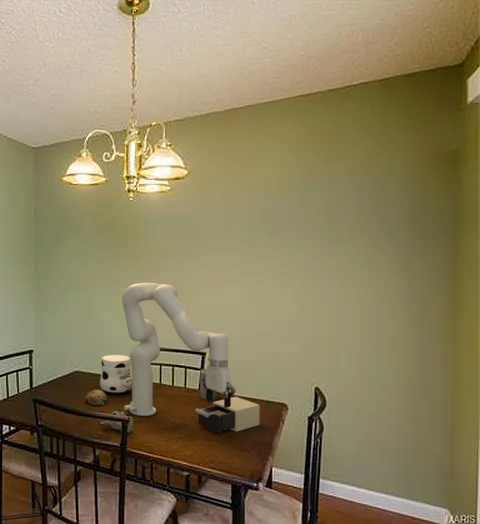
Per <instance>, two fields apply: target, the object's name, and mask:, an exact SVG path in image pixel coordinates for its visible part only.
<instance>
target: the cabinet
mask: <svg viewBox="0 0 480 524" xmlns="http://www.w3.org/2000/svg"><path fill="white" fill-rule="evenodd" d="M215 405H217V406H220V407H222V408H225V407H224V399H219V400H216V401H212V406H215ZM225 409H228V410H230V411H233V412H235V427H234V428H231V429H230V430H231V431H234V432H236V433H237V432H239V431H243V430H247V429H250V428H254V427H257V426H260V422H261V421H260V417H261V416H260V414H261V413H260V404H259V403H255V402H251V401H249V400H247V399H243V398H241V397H238V396H232V397H231V406H230V407H227V408H225Z"/></svg>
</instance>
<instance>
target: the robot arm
mask: <svg viewBox="0 0 480 524" xmlns="http://www.w3.org/2000/svg"><path fill="white" fill-rule="evenodd" d="M178 295H179V293H178V290H177V288H176V287H175V286H173V285H171V284H163V283H154V282H140V283H134V284H131V285H130V286H129V285H128V287H127V288H126V289H125V290H124V291H123V294H122V297H121V303H122V308H123V311H124V316H125V317H124V318H125V322H126V323H125V324H126V327H127V333H128V336H129V338H130V340H132V341H133V342H139V343H138V344H137V345H135V346H133V347H132V348H131V350H130V353H129V358H130V366H131V379H132V387H131V401H130V403H129V404H127V405H126V404H125V405H124V406H123V410H124V411H127V410H128V412H129V413H130V414H132V415H134V416H139V417H140V416H141V417H149V416H153V415H155V414H156V413H157V408H155V407H154V398H153V397H154V395H153V394H154V390H153V389H154V388H153V387H154V384H153V383H154V381H153V378H154V377H153V369H152V364H151V363H152V362H154V361H155V360H158V358H159V357H160V353H161V348H160V343H159V338H158V334H157V330H156V327H155V324H154V323H153V321H151V320H150V319H148V318H145V316H144V312H143V309H142V307H141V305H140V303H141V302H146V301H153V302H155V303H156V304H157V305H158V307H160V308H161V310H162V311H163V312H164V313H165V315H166V316H167V318H169V320H170V321H171V322H172V325H173V327H174V330H175V332H176V334H177V336H178V337H179V339H180V340H181V341H182V342H183V343H184V344H185V345H186V347H187V348H188V349H190V350H191V351H193V352H201V351H203V350H204V349H208V352H209V353H208V358H207V360H208V364H207V366H206V369H207V371H206V378H204V379H202V381H203V385H204V387H205V391H206V400H205V401H207V402H208V401H209V400H213V391H212V390H214V391H217V392H220V394H223V396H224V397H223V400H224V407H225V408H227V407H230V406H231V398H233V397H234V396H235V394H236V392H237V388H236V387H235V386H234V385H232V384H231V372H230V367H229V337H228V334H226V333H220V332H219V333H218V332H215V333H214V332H210V331H206V330H199V331H197V330H196V329H195V328H194V326H193V325H192V324H191V323H190V321H189V318H188V308H187V307H186V306H185V305H184V304H183V303H182V302H181V300H180V299H179V298H178V297H179V296H178Z"/></svg>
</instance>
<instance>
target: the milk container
mask: <svg viewBox="0 0 480 524" xmlns="http://www.w3.org/2000/svg"><path fill="white" fill-rule="evenodd" d="M99 385H100V390H102V391H103V392H104V393H109V394H114V395H116V394H117V395H120V394H126V393H128V392H130V391H132V374H131V359H130V356H127V355H121V354H108V355H104V356H102V357H101V375H100V379H99Z"/></svg>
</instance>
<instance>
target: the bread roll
mask: <svg viewBox="0 0 480 524" xmlns="http://www.w3.org/2000/svg"><path fill="white" fill-rule="evenodd" d="M85 400H86V402H87V403H88V404H89V405H91V406H103V405H105V404H106V403H107V402H108V396H107V393H106V392H105V391H103V390H102V389H92V390H90V391H89V392H88V393H87V394H86V396H85Z"/></svg>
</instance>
